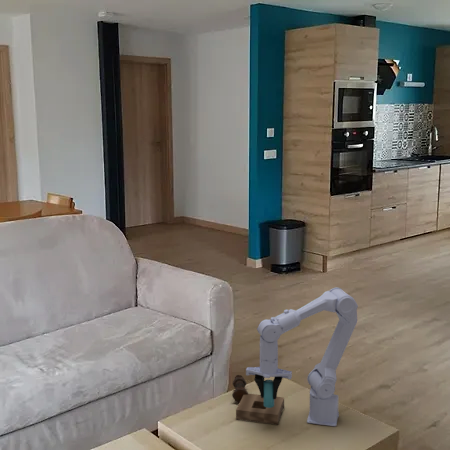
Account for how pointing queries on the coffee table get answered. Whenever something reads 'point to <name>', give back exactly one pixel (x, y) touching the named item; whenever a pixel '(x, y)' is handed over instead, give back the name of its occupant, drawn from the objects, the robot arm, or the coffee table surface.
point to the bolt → (239, 388)
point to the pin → (268, 393)
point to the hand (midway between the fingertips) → (268, 397)
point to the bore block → (259, 409)
